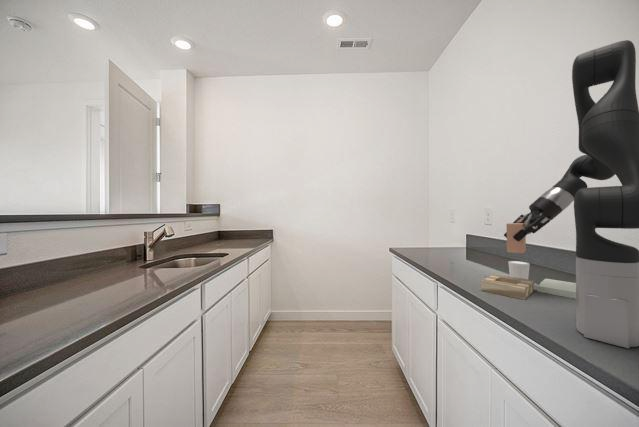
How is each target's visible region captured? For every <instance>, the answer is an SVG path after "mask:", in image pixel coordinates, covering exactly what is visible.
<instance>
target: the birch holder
mask: <svg viewBox="0 0 639 427" xmlns="http://www.w3.org/2000/svg"><path fill="white" fill-rule="evenodd" d="M480 288H481V289H480V291H482V292H486V293H491V294H495V295H500V296H505V297H511V298H515V299H519V300H526V299H527V298H529V296H531V294H533V293H534V292H535V289H536V288H535V280H534V279H529V278H528V279H522V278H516V277H510V275H509V276H508V275H502V274H495V273H493V274H491V275H489V276H488V277H486V278H484V279H481V281H480Z"/></svg>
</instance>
